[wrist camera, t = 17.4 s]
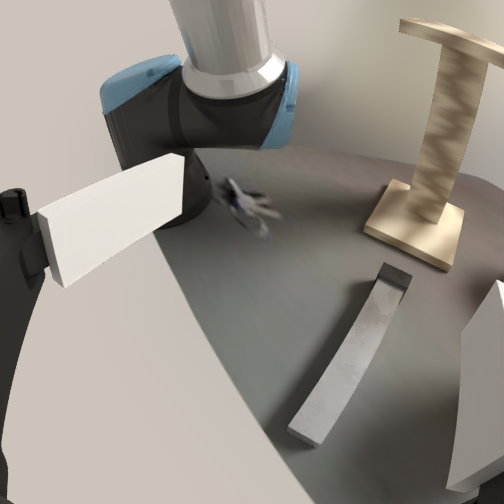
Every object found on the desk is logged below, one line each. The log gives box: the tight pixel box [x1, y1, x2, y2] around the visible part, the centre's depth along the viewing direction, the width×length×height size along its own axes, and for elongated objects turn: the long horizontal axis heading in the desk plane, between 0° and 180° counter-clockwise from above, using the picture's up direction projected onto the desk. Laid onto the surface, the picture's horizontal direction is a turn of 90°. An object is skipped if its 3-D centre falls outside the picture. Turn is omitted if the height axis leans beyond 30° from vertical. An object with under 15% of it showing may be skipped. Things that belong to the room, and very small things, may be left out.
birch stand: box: [363, 18, 504, 272], centre depth 35 cm, size 14×14×30 cm
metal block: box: [287, 262, 413, 448], centre depth 32 cm, size 22×4×4 cm, turn 144°
